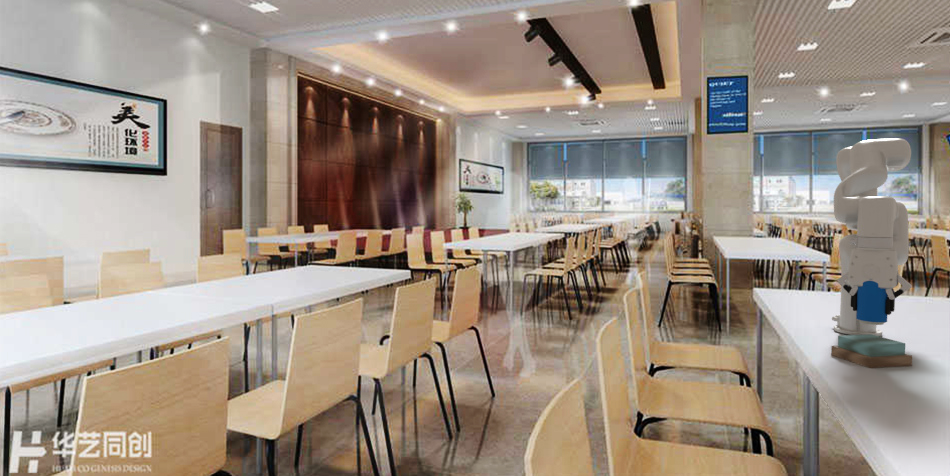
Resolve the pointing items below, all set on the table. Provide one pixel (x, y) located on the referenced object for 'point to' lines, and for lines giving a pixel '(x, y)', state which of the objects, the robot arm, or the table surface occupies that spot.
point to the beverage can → (871, 304)
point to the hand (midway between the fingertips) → (871, 311)
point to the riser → (871, 351)
